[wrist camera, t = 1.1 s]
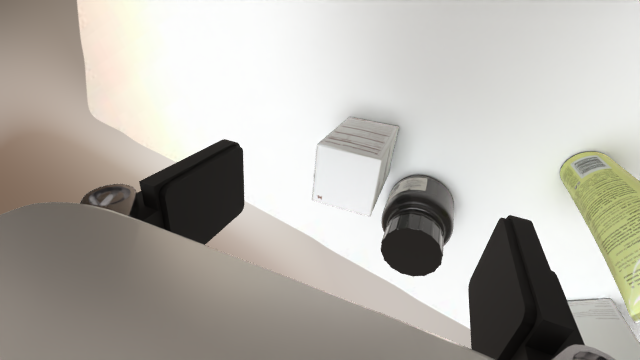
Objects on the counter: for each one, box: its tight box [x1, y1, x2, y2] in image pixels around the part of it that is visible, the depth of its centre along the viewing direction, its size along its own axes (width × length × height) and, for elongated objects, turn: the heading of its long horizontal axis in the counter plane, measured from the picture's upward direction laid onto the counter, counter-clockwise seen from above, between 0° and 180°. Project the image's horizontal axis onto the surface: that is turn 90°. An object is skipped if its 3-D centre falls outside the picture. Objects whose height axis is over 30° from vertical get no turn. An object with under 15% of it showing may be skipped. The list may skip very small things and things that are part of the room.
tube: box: [560, 152, 640, 323], centre depth 27 cm, size 6×5×20 cm
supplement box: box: [312, 117, 399, 216], centre depth 38 cm, size 7×7×13 cm
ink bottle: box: [381, 175, 453, 276], centre depth 40 cm, size 10×9×12 cm
